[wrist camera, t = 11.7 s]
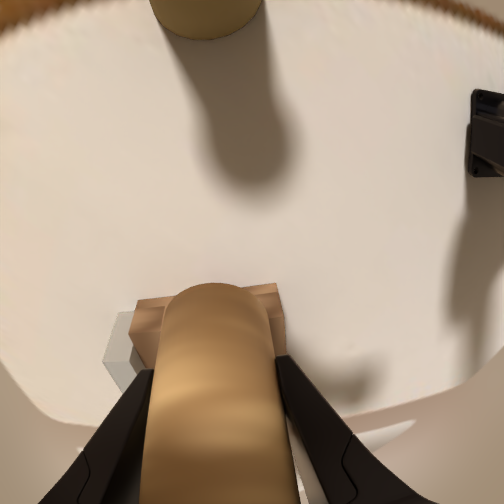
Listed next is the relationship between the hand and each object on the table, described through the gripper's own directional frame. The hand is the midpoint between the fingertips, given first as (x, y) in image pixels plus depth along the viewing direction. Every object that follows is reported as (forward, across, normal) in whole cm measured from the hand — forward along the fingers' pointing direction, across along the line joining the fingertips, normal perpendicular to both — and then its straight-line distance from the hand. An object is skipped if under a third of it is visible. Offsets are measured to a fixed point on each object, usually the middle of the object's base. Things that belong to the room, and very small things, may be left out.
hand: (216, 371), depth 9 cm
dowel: (+2, 0, 0) cm, 2 cm away
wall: (+12, +8, +11) cm, 18 cm away
